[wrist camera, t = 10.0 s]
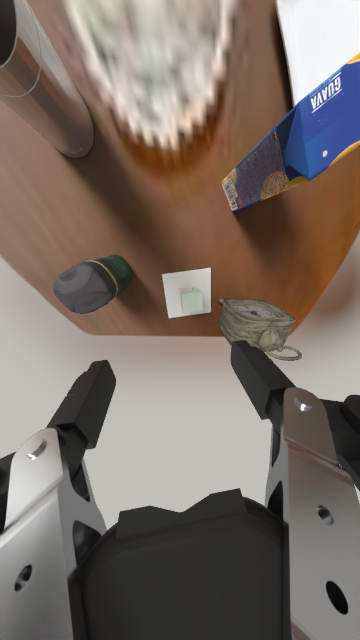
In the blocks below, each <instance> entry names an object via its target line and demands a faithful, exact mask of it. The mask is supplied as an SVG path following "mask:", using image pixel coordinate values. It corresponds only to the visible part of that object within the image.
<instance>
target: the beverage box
mask: <svg viewBox="0 0 360 640" xmlns="http://www.w3.org/2000/svg"><path fill="white" fill-rule="evenodd" d="M358 146H360V52H359V53H358V54H357V55H356V56H354V57H353V58H352V59H351V60H349V61H348V62H347V63H346V64H345V65H343V66H342V67H341V68H340V69H338V70H337V71H336V72H335V73H334V74H332V75H331V76H330V77H329V78H327V79H326V80H325V81H324V82H323V83H321V84H320V85H319V86H318V87H316V88H315V89H314V90H313V91H312V92H310V93H309V94H308V95H307V96H305V97H304V98H303V99H302V100H301V101H299V102H298V103H297V104H296V105H295V107H294V108H293V109H292V110H291V111H290V112H289V113H288V114H287V115H286V116H285V117H284V118H283V119H282V120H281V121H280V122H279V123H278V124H277V125H276V126H275V127H274V128H273V129H272V130H271V131H270V132H269V133H268V134H267V135H266V136H265V138H264V139H263V140H262V141H261V142H260V143H259V144H258V145H257V146H256V147H255V148H254V149H253V150H252V151H251V152H250V153H249V154H248V155H247V156H246V157H245V158H244V159H243V160H242V161H241V162H240V163H239V164H238V165H237V166H236V167H235V169H234V170H233V171H232V172H231V173H230V174H229V175H228V176H227V177H226V178H225V179H224V180H223V181H222V182H221V183H222V186H223V189H224V191H225V194H226V197H227V199H228V202H229V204H230V207H231V210H232V212H233V213H234V212H236V211H239V210H241V209H244V208H246V207H248V206H251V205H253V204H255V203H258V202H260V201H263V200H265V199H267V198H270V197H272V196H274V195H277V194H279V193H281V192H284V191H286V190H289V189H291V188H293V187H296V186H298V185H300V184H303V183H305V182H308V181H310V180H312V179H313V178H314V177H316V176H317V175H319V174H320V173H321V172H323V171H324V170H326V169H327V168H329V167H330V166H331V165H333V164H334V163H336V162H337V161H338V160H340V159H341V158H343V157H344V156H345V155H347V154H348V153H350V152H351V151H352V150H354V149H355V148H357V147H358Z"/></svg>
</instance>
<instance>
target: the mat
mask: <svg viewBox="0 0 360 640" xmlns="http://www.w3.org/2000/svg"><path fill="white" fill-rule="evenodd" d="M162 278H163V284H164V291H165V297H166V304H167V310H168V316H169V318H174V317H181V316H188V315H195V314H202V313H210V312H211V268H206V269H198V270H190V271H183V272H175V273H167V274H162ZM192 286H197V288H198V289H200V290H201V291H202V299H203V311H199V312H192V313H185V314H183V311H182V305H181V294H180V288H183V287H184V290H185V291H186V290H192Z"/></svg>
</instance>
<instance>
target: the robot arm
mask: <svg viewBox="0 0 360 640" xmlns="http://www.w3.org/2000/svg"><path fill="white" fill-rule="evenodd" d="M0 99H1V100H2V101H3V102H4V103H6V104H7V105H8V106H9V107H10V108H11V109H12V110H14V111H15V112H16V113H17V114H18V115H19V116H20V117H21V118H23V119H24V120H25V121H26V122H27V123H28V124H29V125H30V126H32V127H33V128H34V129H35V130H36V131H37V132H38V133H39V134H41V135H42V136H43V137H44V138H45V139H46V140H47V141H48V142H50V143H51V144H52V145H53V146H54V147H55V148H56V149H58V150H59V151H60V152H61V153H63V154H64V155H66V156H69V157H72V158H80V157H83V156H85V155H87V153H88V152H89V151H90V150H91V147H92V145H93V141H94V128H93V122H92V119H91V116H90V113H89V111H88V109H87V107H86V105H85V103H84V101H83V100H82V98H81V96H80V94H79V92H78V91H77V89H76V87H75V85H74V83H73V81H72V80H71V78H70V76H69V74H68V73H67V71H66V69H65V67H64V65H63V64H62V62H61V60H60V58H59V56H58V55H57V53H56V51H55V49H54V48H53V46H52V44H51V42H50V40H49V39H48V37H47V35H46V33H45V31H44V30H43V28H42V26H41V24H40V23H39V21H38V19H37V17H36V15H35V14H34V12H33V10H32V8H31V6H30V5H29V3H28V1H27V0H0ZM231 365H232V367H233V370H234V371H235V373H236V375H237V377H238V379H239V380H240V382H241V384H242V386H243V387H244V389H245V391H246V393H247V395H248V396H249V398H250V400H251V402H252V404H253V405H254V407H255V409H256V411H257V413H258V414H259V416H260V418H261V419H262V420H264V419H270V420H271V422H272V424H273V425H272V433H271V449H270V464H269V473H268V478H267V485H266V494H265V506H263V505H261V504H260V503H258V502H256V501H254V500H251V499H249V498H246V497H242V494H241V491H240V488H239V489H234V490H228V491H223V492H218V493H213V494H210V495H209V496H207V497H206V498H204V499H203V500H201V501H200V502H198V503H196V504H195V505H193V506H192V507H190V508H189V509H187V510H186V511H184V512H181V513H179V512H175V511H170V510H166V509H162V508H158V507H153V506H146V507H141V508H136V509H131V510H126V511H120V513H119V519H118V522H117V523H116V524H115V525H113V526H112V527H111V528H110V529H109V530H107V529H106V526H105V522H104V519H103V517H102V514H101V512H100V511H99V509H98V507H97V505H96V503H95V499H94V496H93V492H92V488H91V484H90V480H89V477H88V473H87V470H86V465H85V461H84V459H83V456H84V453H85V450H87V449H92V448H95V447H96V444H97V441H98V438H99V434H100V432H101V429H102V426H103V422H104V420H105V417H106V413H107V410H108V407H109V404H110V401H111V398H112V395H113V392H114V389H115V386H116V378H115V375H114V373H113V371H112V368H111V366H110V364H109V362H108V361H107V360H102V361H95V362H93V363H92V364H91V365H90V367H89V369H88V371H86V372H84V373H83V374H82V375H80V377H78V379H76V381H75V382H74V384H73V386H72V387H71V389H70V390H69V392H68V394H67V397H65V399H64V400H63V402H62V403H61V405H60V407H59V408H58V410H57V411H56V413H55V414H54V416H53V417H52V419H51V421H50V422H49V424H48V425H47V427H46V428H45V429H43V430H40V431H39V432H37V433H35V434H34V435H32V436H31V437H30V438H29V439H27V440H26V441H25V442H24V443H23V444H22V445H21V447H20V448H19V449H18V451H16V452H14V453H12V454H10V455H7V456H6V457H4V458H1V459H0V640H360V504H359V501H358V497H357V493H356V490H355V486H356V487H357V488H358V490H359V491H360V395H350V396H348V397H347V398H346V399H345V401H344V402H338V401H331V400H324V399H319V398H318V397H316V396H315V395H314V394H312V393H311V392H309V391H307V390H304V389H302V388H297V387H296V386H295V385H294V384H293V383H292V382H291V381H290V380H289V379H288V378H287V377H286V375H285V374H284V373H283V372H282V371H281V370H280V369H279V368H278V367H277V366H276V365H275V364H274V363H273V361H272V360H271V359H269V358H268V356H267V355H266V354H265V353H264V352H263V351H262V350H260V349H259V348H257V347H255V346H253V347H251V345H250V344H249V343H248V342H247V341H246V340H238V341H233V342H232V348H231ZM339 464H340V465H339ZM340 466H341V467H342V468H341V467H340ZM354 484H355V486H354Z"/></svg>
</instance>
